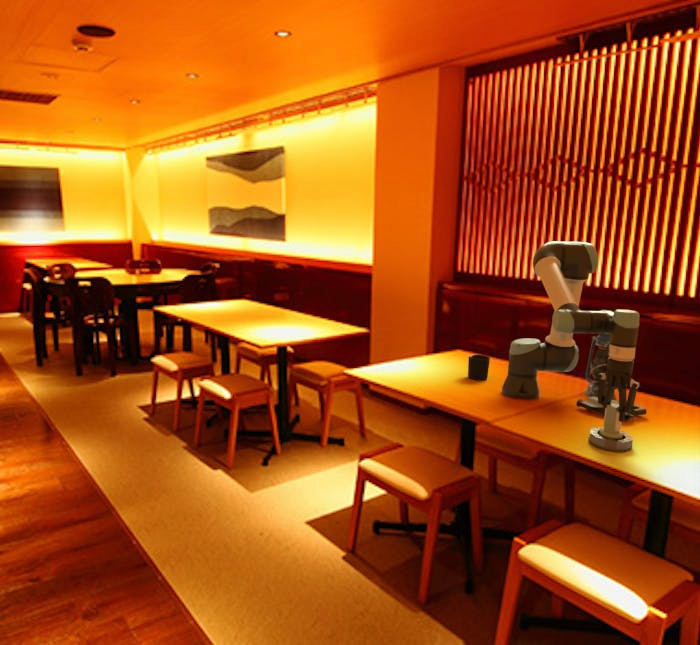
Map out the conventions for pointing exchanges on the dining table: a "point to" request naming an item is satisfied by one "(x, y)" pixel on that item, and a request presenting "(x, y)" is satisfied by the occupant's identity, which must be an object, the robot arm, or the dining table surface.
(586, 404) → the camcorder
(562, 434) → the dining table surface
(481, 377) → the pen holder
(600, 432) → the toggle switch lever
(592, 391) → the lantern
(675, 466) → the dining table surface
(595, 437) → the barrel ring
